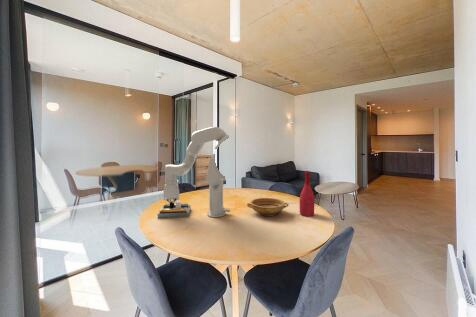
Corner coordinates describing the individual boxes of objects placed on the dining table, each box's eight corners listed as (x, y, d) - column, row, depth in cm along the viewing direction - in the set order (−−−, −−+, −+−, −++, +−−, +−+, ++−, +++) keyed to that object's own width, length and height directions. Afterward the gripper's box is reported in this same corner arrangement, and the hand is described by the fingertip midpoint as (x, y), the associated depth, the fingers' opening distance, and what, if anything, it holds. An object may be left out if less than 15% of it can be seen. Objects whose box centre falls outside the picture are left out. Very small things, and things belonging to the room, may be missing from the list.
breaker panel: (190, 209, 161) (190, 202, 161) (188, 216, 145) (188, 209, 145) (163, 210, 159) (162, 203, 159) (157, 218, 143) (157, 210, 143)
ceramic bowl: (248, 220, 139) (248, 208, 138) (245, 208, 163) (245, 198, 162) (293, 219, 140) (293, 207, 139) (283, 207, 164) (284, 197, 163)
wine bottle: (302, 211, 156) (303, 169, 153) (316, 213, 149) (317, 171, 147) (297, 214, 148) (297, 171, 146) (311, 217, 142) (312, 172, 139)
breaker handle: (181, 207, 155) (181, 200, 154) (180, 209, 150) (180, 202, 150) (176, 207, 154) (176, 201, 154) (175, 209, 150) (175, 202, 149)
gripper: (182, 181, 155) (183, 206, 156) (161, 181, 153) (162, 206, 154) (181, 183, 147) (182, 209, 149) (158, 183, 146) (159, 210, 147)
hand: (172, 208), depth 152 cm, fingers closed
